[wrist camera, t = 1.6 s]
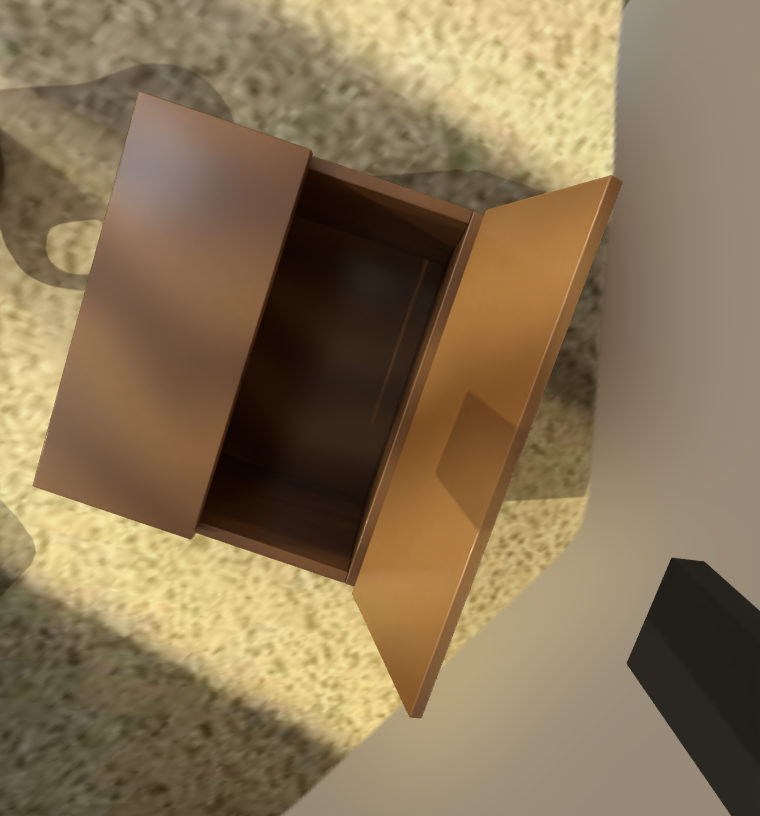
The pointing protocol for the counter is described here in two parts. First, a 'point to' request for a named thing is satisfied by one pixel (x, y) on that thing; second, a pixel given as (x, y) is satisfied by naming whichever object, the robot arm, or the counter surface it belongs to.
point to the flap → (474, 424)
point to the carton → (251, 341)
